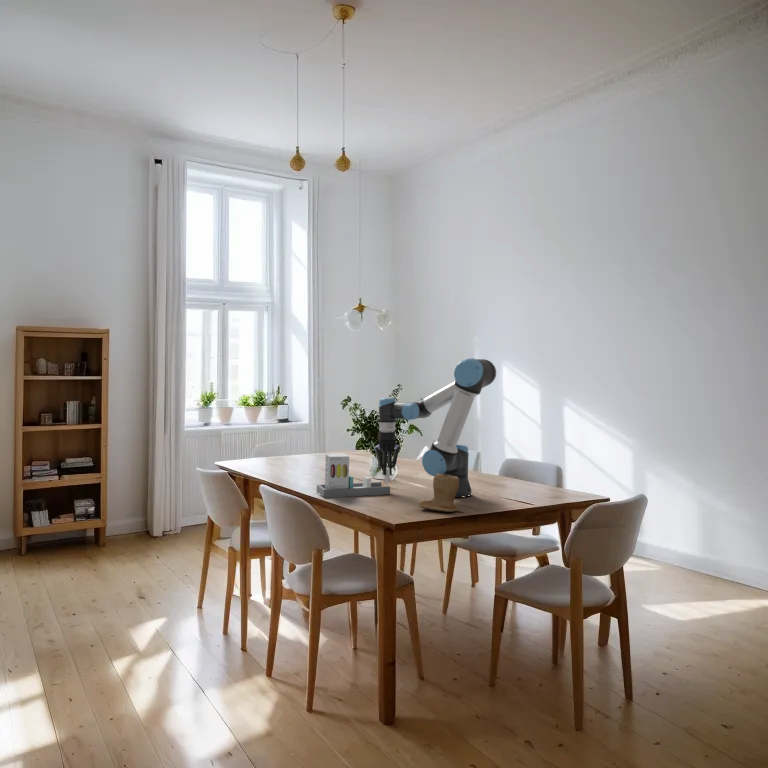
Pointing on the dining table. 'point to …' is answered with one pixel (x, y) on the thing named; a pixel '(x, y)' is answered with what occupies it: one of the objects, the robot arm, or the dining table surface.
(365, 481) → the pusher
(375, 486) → the grey tray
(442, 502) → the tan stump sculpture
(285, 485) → the dining table surface
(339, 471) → the supplement box
